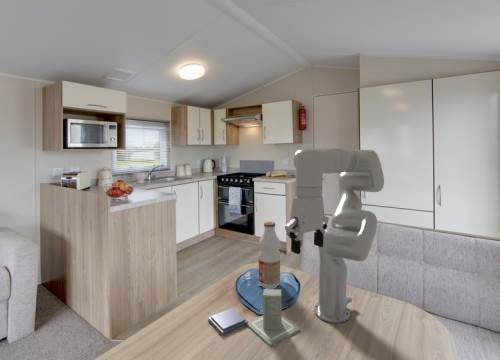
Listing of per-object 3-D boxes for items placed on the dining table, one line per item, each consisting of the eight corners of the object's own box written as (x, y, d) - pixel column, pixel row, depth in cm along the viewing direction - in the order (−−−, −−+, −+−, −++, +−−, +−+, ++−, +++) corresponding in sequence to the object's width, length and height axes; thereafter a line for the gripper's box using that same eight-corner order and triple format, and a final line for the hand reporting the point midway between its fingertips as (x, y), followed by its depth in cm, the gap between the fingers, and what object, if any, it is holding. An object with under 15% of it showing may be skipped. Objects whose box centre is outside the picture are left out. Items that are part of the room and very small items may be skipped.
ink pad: (232, 311, 105) (232, 306, 105) (248, 324, 97) (248, 319, 96) (208, 320, 99) (208, 315, 99) (222, 335, 91) (222, 330, 91)
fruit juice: (272, 292, 118) (273, 227, 115) (254, 285, 124) (254, 223, 121) (283, 283, 126) (284, 222, 123) (265, 277, 132) (266, 219, 128)
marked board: (274, 311, 104) (275, 310, 104) (300, 330, 94) (300, 328, 94) (245, 324, 97) (245, 322, 97) (270, 346, 86) (270, 344, 86)
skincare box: (281, 322, 97) (282, 289, 95) (281, 331, 92) (282, 295, 91) (263, 321, 98) (263, 287, 96) (262, 329, 93) (262, 294, 92)
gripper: (318, 188, 90) (317, 240, 92) (277, 193, 80) (276, 251, 82) (338, 191, 84) (336, 247, 86) (296, 197, 74) (295, 259, 76)
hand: (307, 249), depth 84 cm, fingers open, 9 cm apart
